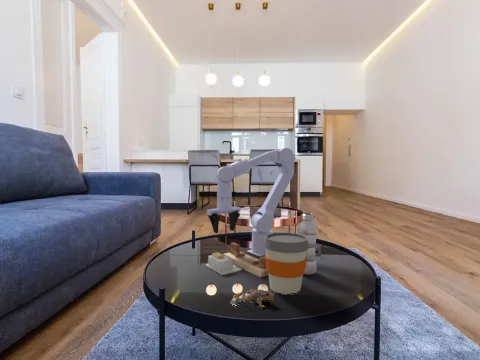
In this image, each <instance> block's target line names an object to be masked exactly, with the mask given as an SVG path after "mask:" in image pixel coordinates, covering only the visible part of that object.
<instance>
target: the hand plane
mask: <svg viewBox="0 0 480 360" xmlns="http://www.w3.org/2000/svg"><path fill="white" fill-rule="evenodd" d="M229 251H230V252H225V253H222V254H223V255H225V256H227V257H229V258H231V259H233V265H235V266H237V267H239V268H241V269H242V270H245V271H246V272H249V274H252V275H255V276H257V277H259V278H263V277H267V276H268V277H269V273H268V272H267V268H266V258H265V256H258V258H256V257H254V256H251V255H249V254H247V253H245V252H241V244H239V243H236V242H230V250H229Z"/></svg>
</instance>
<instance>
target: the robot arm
mask: <svg viewBox="0 0 480 360" xmlns="http://www.w3.org/2000/svg"><path fill="white" fill-rule="evenodd" d="M295 161H296V156H295V153H294V151H293V149H291V148H290V147H284V148H276V149H274V150H270V151H266V152H264V153H262V154H260V155H257V156H255V157H253V158H251V159H248V160H247V159H245V158H243V159H242V158H238V159H237V160H236V161H234V162H232V163H227V164H226V166H221V167H219V168H218V169H217V171H216V173H215V177H216V179H217V186H216V188H217V189H216V208H211V209H207V210H206V214H207V217H208V220H209V221H210V223H211V226H212V230H213V234H218V233H219V223H220V220H221V219H220V218H221V216H219V215H221V214H227V215H228V221H229V230H230V231H232V232H233V231H235V228H236V224H237V222H238V219H239V218H240V216H241V206H240V207H239V206H232V203H233V202H232V200H233V199H232V195H233V194H232V190H233V187H232V180H233V179H235V178H238V177H240V176H243V175H245V174H247V173H249V172H250V171H251V169H252V168H254V167H257V166H260V165H262V164H265V163H267V162H270V163H274V164H275V165H276V167H277V169H278V171H279V174H278V176H277V178H276V180H275V181H274V184H273V186H272V188H271V189H270V191H269V193H268V194H267V197H266V199H265V200H264V202H263V204H262V206H261V207H260V208H258V209H257V211H256V212H255V213H254V214H253V215H252V216H251V218H250V223H251V226H252V227H253V228H252V230H251V249H248V250H247V253H250V254H252V255H255V256H257V257H265V255H266V248H265V237H266V235H268V234H271V233H275V232H274V230H272V225H273V220H274V217H275V216H274V214H275V213H274V212H275V211H276V209H277V207H278V205H279V203H280V201H281V200H282V197H283V196H284V193H285V191H286V189H287V188H288V186H289V184H290V182H291V180H292V179H293V177H294V174H295Z"/></svg>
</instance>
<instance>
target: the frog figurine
mask: <svg viewBox="0 0 480 360" xmlns="http://www.w3.org/2000/svg"><path fill="white" fill-rule="evenodd" d="M274 297H275V294H274V293H273V291H272V290H271V289H268V290H264V289H255V288H254V287H253V288H250V289H249V290H246V292H239V293H237V294H233V296H232V299H231V300H230V305H231V304H232V305H231V306H233V305H235V306H237V305H236V304H237V303H238V302H241V301H244V302H251V303H252V302H256V303H258V304H259V306H260V307H265V305H264V304H263V302H262V301H265V300H272V301H273V300H274ZM258 304H257V305H258ZM262 304H263V305H262ZM235 306H234V307H235Z"/></svg>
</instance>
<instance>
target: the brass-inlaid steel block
mask: <svg viewBox="0 0 480 360" xmlns="http://www.w3.org/2000/svg"><path fill="white" fill-rule="evenodd" d="M223 254H224V253H220V252H219V251H218V252H213V253H211V255H207V256H208V258H207V264H208V266H210V267H211V268H213V269H215V270H216V271H218V272H220V273H221V272H225V271H229V270H233V265H234V264H233V259H231V258H229V257H227V256H225V255H223ZM211 268H210V269H211ZM216 271H215V272H216ZM218 272H217V273H218Z"/></svg>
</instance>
